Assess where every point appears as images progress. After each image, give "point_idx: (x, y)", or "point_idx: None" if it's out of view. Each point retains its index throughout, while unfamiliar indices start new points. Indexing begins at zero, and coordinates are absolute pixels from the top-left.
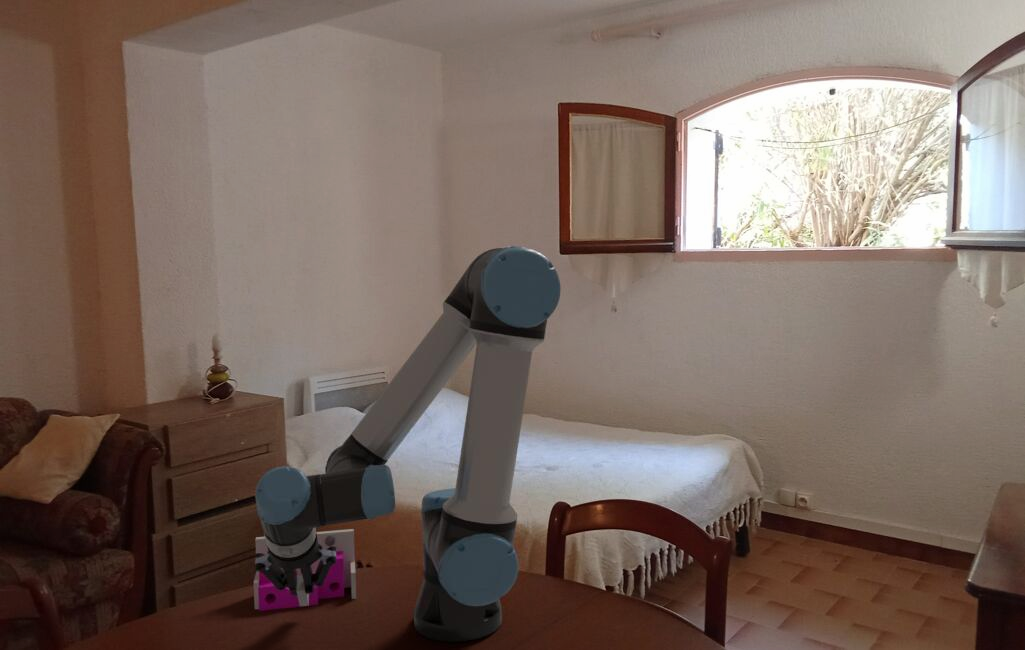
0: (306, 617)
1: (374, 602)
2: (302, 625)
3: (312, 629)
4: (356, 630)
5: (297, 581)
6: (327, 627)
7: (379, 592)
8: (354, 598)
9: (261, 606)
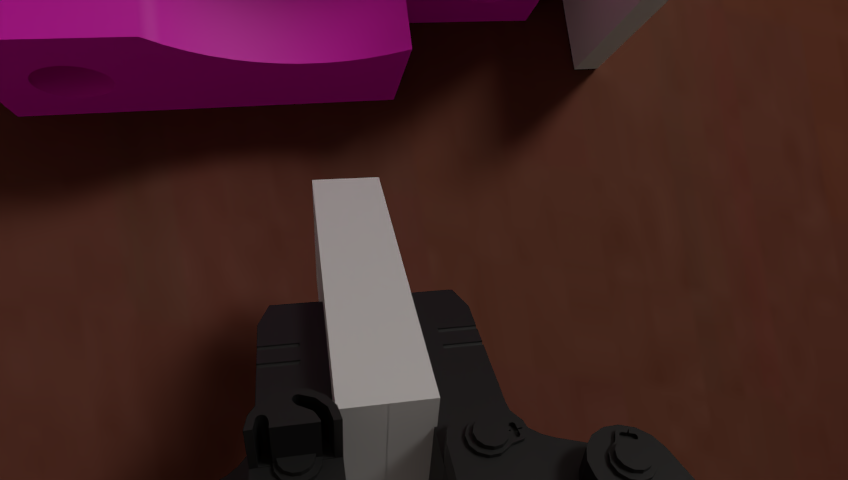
0: None
1: (696, 132)
2: None
3: None
4: None
5: (345, 454)
6: None
7: (702, 14)
8: (589, 68)
9: (23, 105)
